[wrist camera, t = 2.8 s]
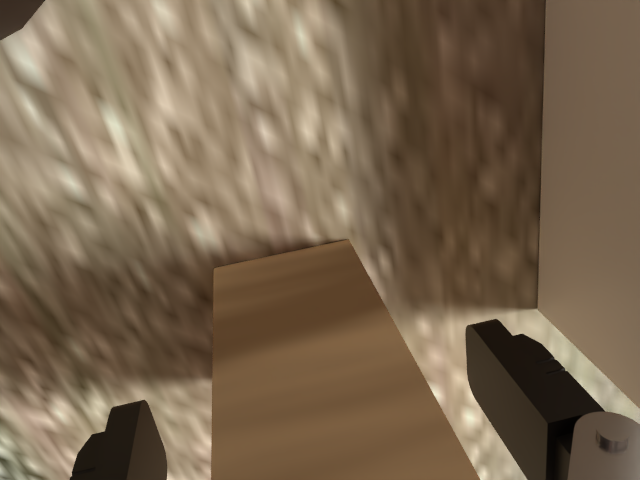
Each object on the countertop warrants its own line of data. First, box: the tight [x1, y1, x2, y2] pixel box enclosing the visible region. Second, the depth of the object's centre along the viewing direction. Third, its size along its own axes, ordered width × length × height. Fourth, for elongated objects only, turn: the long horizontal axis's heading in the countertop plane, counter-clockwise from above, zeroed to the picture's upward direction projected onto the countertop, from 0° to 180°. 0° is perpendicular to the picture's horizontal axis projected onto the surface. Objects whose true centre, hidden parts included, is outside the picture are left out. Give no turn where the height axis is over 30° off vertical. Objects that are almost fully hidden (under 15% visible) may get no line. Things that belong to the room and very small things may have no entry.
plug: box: [211, 239, 480, 480], centre depth 13 cm, size 4×4×9 cm
